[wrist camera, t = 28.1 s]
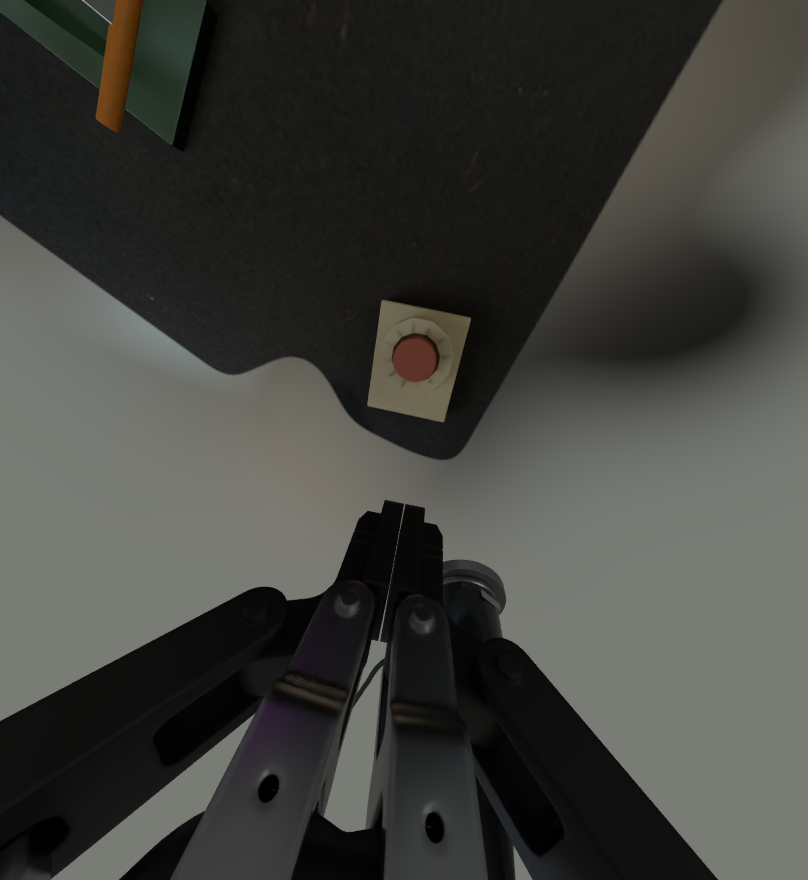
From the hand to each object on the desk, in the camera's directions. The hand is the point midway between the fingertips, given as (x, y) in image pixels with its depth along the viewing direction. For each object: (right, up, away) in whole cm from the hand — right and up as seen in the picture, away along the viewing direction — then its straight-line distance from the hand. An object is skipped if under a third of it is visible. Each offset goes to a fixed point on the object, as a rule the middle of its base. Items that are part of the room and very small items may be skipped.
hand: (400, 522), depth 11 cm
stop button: (+1, +10, +15) cm, 19 cm away
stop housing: (+1, +11, +19) cm, 22 cm away
